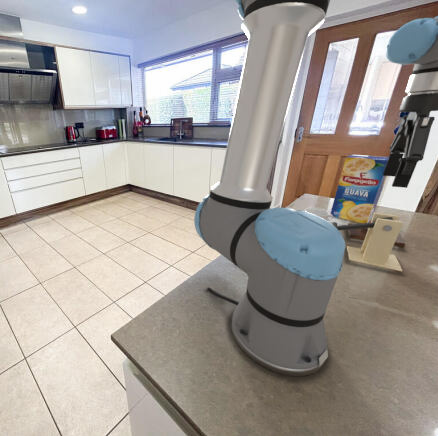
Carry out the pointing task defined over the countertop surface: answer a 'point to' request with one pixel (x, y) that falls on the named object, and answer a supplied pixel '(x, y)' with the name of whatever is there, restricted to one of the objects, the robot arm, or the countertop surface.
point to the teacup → (319, 213)
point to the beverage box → (359, 188)
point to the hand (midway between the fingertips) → (393, 181)
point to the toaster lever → (357, 225)
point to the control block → (362, 233)
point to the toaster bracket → (379, 243)
